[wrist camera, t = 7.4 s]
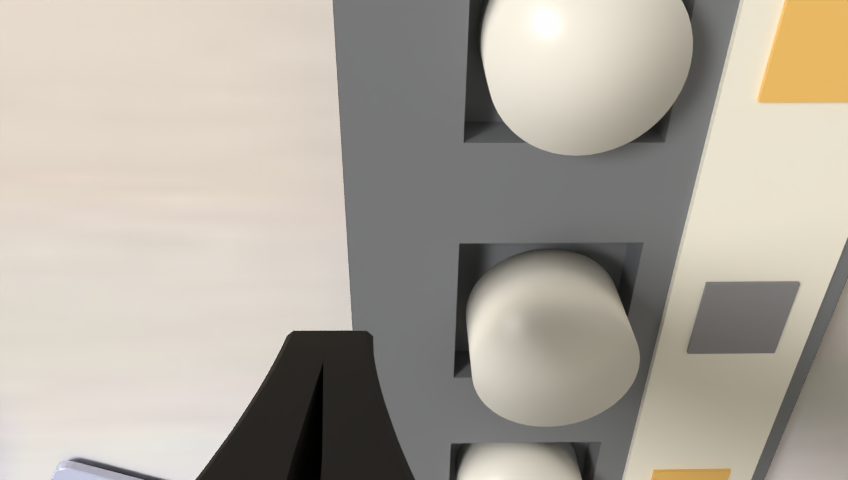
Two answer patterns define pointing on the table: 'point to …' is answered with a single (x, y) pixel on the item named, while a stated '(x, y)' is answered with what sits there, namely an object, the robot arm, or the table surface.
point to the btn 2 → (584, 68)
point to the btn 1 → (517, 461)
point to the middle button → (549, 339)
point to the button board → (603, 230)
